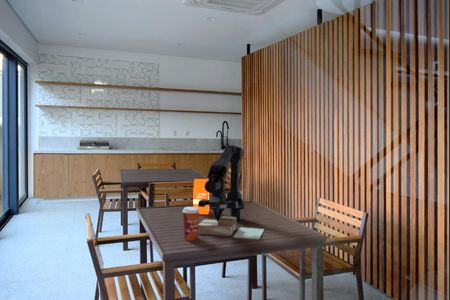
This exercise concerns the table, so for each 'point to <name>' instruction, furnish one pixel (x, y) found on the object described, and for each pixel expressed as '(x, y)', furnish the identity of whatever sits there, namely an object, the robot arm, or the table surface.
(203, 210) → the orange juice
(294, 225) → the table surface
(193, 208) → the paper cup
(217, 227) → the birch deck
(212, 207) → the robot arm
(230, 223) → the walnut block
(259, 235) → the sage mat
